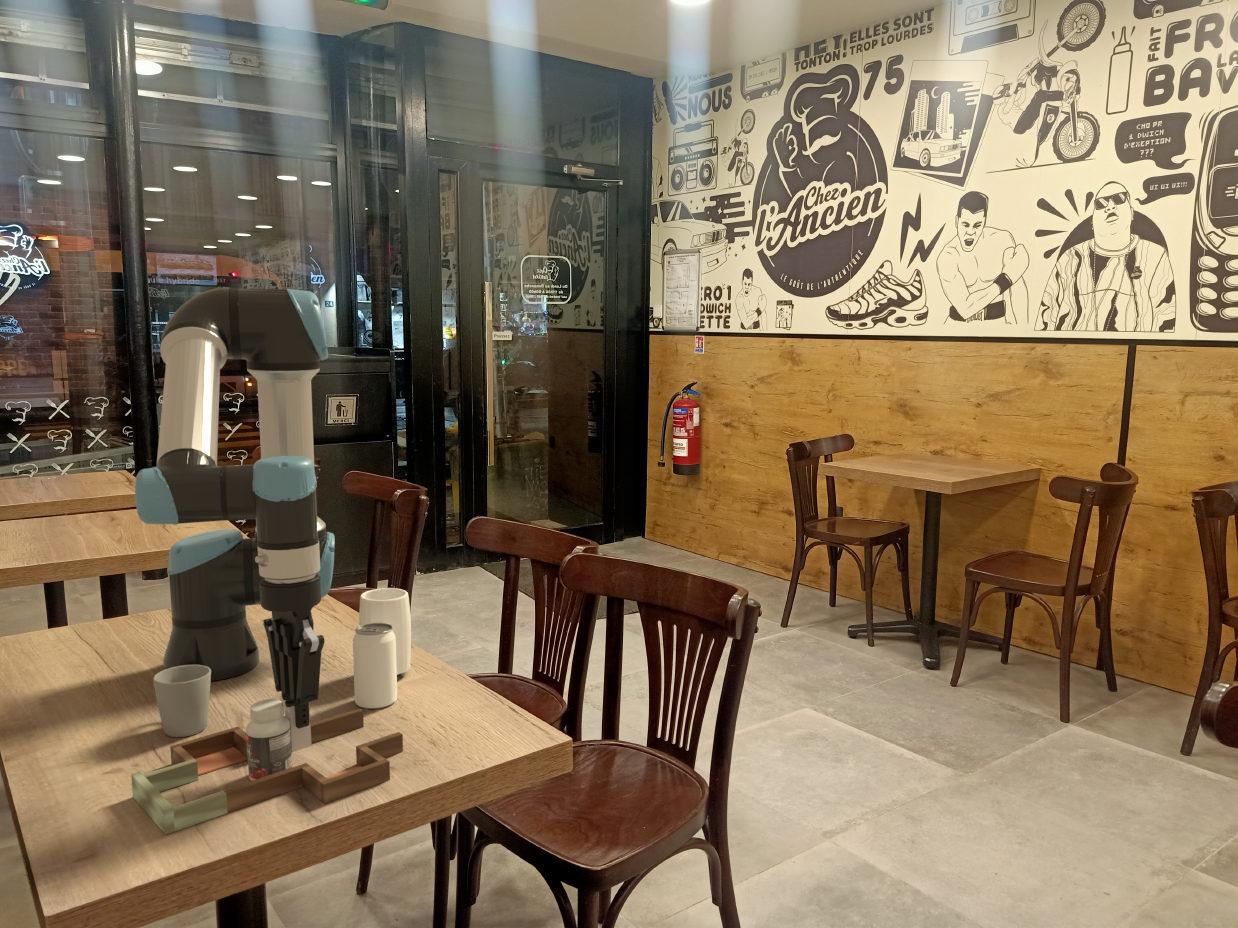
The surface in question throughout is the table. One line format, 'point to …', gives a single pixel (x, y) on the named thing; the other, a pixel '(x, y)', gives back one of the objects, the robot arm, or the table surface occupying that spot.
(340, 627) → the table surface
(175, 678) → the cup
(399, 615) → the cup
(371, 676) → the can
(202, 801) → the trap lane
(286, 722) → the pill bottle
